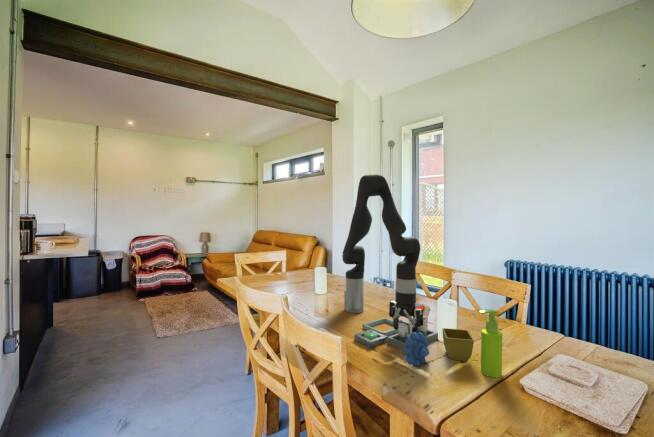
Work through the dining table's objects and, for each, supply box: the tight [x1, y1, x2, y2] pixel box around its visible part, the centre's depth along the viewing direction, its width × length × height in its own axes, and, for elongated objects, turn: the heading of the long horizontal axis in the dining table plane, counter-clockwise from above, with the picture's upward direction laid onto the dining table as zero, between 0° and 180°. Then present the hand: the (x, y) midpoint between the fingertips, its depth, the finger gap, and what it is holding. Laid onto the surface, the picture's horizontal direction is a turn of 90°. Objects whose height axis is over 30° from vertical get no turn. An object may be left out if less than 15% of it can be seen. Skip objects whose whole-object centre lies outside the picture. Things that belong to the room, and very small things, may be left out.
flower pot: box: [441, 327, 475, 363], centre depth 106 cm, size 9×9×9 cm
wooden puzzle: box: [396, 302, 431, 318], centre depth 157 cm, size 18×19×4 cm
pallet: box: [387, 328, 439, 351], centre depth 119 cm, size 19×9×3 cm, turn 127°
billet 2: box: [418, 316, 429, 337], centre depth 122 cm, size 5×5×8 cm
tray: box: [362, 317, 398, 337], centre depth 131 cm, size 12×14×3 cm
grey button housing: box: [353, 329, 389, 349], centre depth 119 cm, size 9×9×3 cm
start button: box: [364, 332, 377, 340], centre depth 119 cm, size 5×5×3 cm
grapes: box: [402, 332, 430, 369], centre depth 100 cm, size 12×7×12 cm, turn 125°
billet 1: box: [397, 319, 413, 343], centre depth 116 cm, size 5×5×8 cm
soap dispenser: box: [478, 308, 503, 378], centre depth 97 cm, size 6×7×20 cm
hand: (405, 332), depth 116 cm, fingers open, 8 cm apart
